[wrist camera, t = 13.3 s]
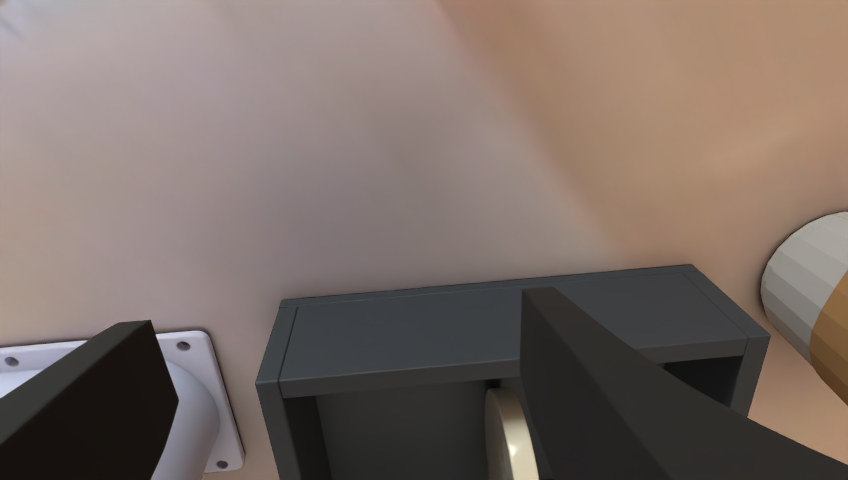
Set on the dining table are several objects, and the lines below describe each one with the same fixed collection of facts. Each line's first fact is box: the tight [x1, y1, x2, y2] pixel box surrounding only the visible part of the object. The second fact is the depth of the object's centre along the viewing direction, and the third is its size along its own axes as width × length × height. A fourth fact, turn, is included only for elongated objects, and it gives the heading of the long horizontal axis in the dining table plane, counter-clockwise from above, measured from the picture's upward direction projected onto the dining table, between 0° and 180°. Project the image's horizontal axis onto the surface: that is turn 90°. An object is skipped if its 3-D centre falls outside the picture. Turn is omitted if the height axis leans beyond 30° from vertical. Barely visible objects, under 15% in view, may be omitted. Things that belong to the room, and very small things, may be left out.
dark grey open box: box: [255, 265, 771, 480], centre depth 23 cm, size 18×13×5 cm
